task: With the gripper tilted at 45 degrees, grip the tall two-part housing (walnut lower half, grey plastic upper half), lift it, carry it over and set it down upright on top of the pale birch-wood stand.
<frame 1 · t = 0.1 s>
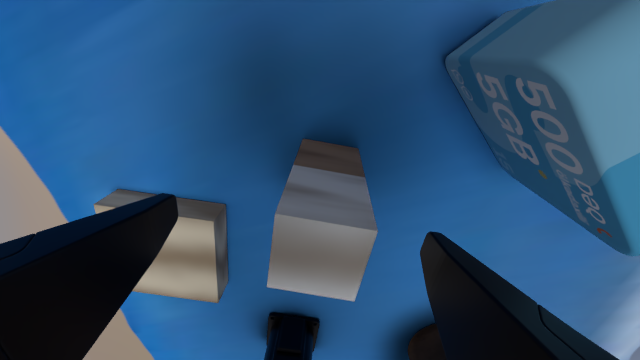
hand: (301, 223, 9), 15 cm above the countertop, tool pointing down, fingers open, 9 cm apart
pitcher: (449, 345, 35), on the countertop
two-part housing: (325, 168, 24), on the countertop
data package: (498, 101, 21), on the countertop
birch stand: (177, 239, 29), on the countertop
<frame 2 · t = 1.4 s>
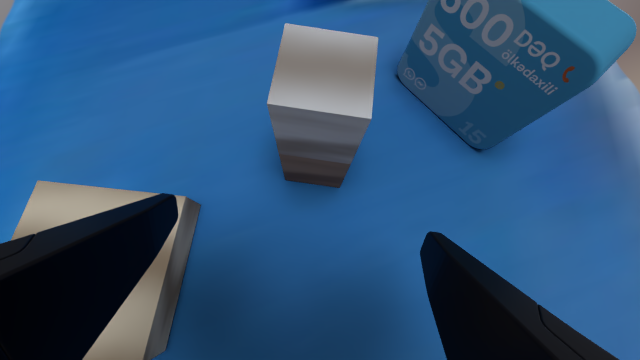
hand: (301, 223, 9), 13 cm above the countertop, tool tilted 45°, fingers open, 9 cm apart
two-part housing: (316, 158, 25), on the countertop
data package: (446, 103, 28), on the countertop
birch stand: (115, 264, 21), on the countertop
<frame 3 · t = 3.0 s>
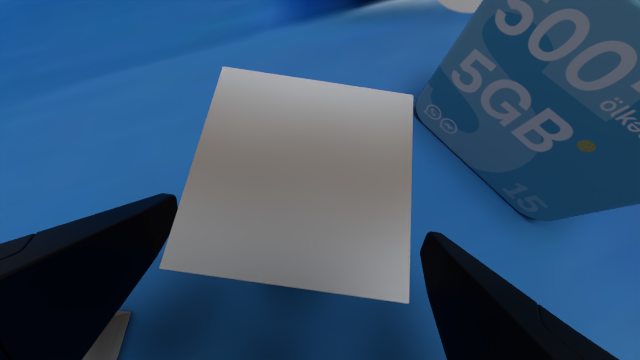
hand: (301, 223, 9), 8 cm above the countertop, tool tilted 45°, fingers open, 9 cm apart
two-part housing: (304, 234, 17), on the countertop
data package: (481, 149, 20), on the countertop
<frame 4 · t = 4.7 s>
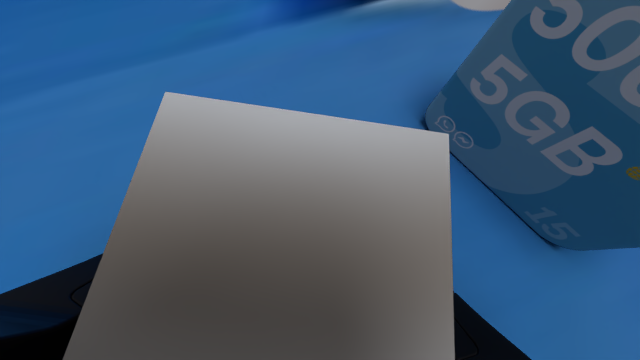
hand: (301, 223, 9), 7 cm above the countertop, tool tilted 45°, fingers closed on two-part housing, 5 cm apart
two-part housing: (298, 265, 15), on the countertop, touching gripper
data package: (499, 164, 18), on the countertop
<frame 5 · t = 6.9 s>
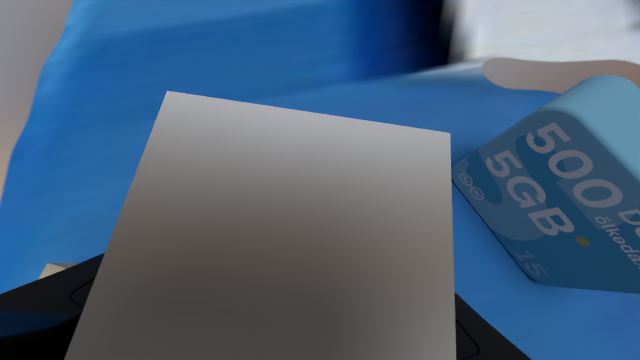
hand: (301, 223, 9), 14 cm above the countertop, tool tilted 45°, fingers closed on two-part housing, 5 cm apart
two-part housing: (299, 264, 15), point 7 cm above the countertop, touching gripper
data package: (502, 213, 24), on the countertop
when the fingers open (11 cm above the countertop, at t = 9.5 s): two-part housing drops 1 cm, resting on birch stand.
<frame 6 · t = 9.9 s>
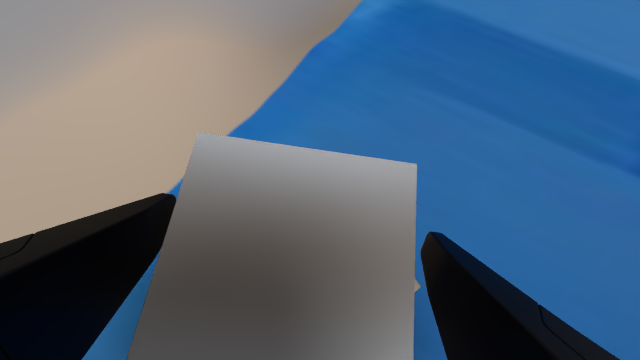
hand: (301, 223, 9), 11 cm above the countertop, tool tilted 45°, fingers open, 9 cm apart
two-part housing: (299, 264, 17), point 3 cm above the countertop, touching birch stand
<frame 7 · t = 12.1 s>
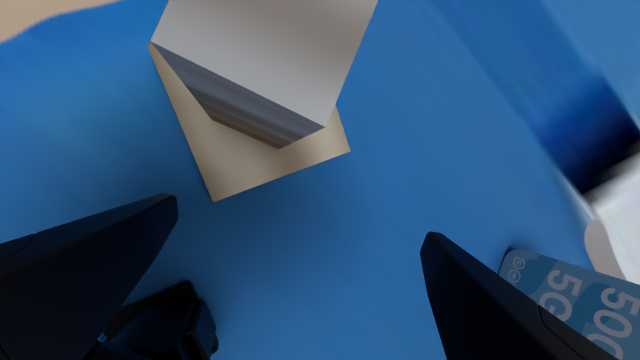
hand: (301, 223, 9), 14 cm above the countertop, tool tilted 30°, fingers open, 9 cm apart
two-part housing: (260, 103, 19), point 3 cm above the countertop, touching birch stand
data package: (501, 298, 31), on the countertop
birch stand: (258, 111, 22), on the countertop
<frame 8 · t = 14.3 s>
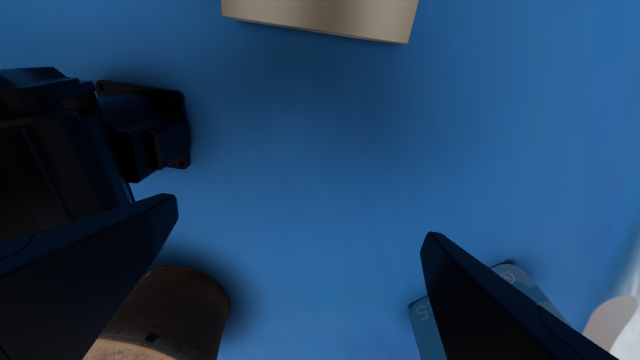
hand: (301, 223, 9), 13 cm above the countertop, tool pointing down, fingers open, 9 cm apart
pitcher: (186, 298, 31), on the countertop
data package: (464, 293, 29), on the countertop
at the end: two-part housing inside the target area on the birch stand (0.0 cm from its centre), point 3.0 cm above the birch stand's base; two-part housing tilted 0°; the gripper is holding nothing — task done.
